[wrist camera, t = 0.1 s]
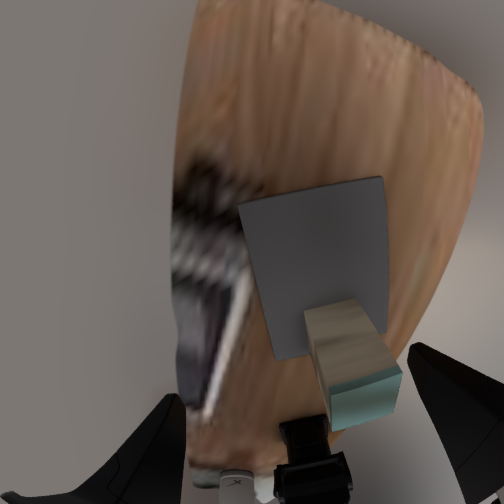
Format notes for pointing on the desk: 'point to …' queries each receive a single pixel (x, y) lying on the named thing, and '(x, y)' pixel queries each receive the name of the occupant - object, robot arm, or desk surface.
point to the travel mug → (236, 487)
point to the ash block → (351, 364)
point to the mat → (318, 255)
